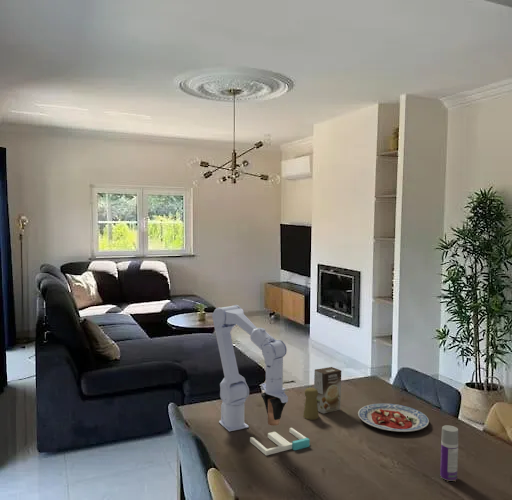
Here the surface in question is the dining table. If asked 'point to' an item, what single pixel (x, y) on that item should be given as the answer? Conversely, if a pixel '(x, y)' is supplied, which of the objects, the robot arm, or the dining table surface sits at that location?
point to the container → (449, 453)
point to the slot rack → (282, 442)
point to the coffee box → (328, 389)
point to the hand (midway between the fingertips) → (273, 416)
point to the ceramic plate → (393, 417)
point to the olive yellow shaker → (311, 404)
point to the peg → (271, 415)
